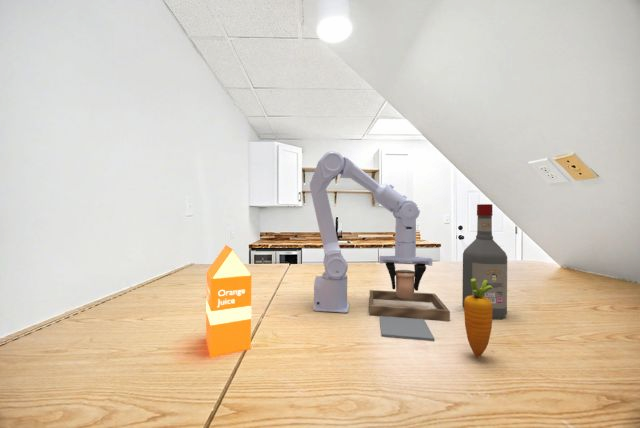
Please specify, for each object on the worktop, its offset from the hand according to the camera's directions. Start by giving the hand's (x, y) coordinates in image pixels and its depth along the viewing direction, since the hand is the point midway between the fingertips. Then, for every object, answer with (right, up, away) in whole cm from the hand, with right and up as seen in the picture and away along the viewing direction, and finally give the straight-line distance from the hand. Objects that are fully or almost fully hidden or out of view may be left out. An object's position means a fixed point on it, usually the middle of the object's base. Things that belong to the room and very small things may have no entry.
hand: (404, 289), depth 79 cm
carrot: (+5, -6, -27) cm, 28 cm away
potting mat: (-5, -5, -14) cm, 16 cm away
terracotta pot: (0, -2, 0) cm, 2 cm away
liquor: (+21, -6, -4) cm, 22 cm away
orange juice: (-44, -5, -23) cm, 49 cm away
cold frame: (0, -5, 0) cm, 5 cm away
